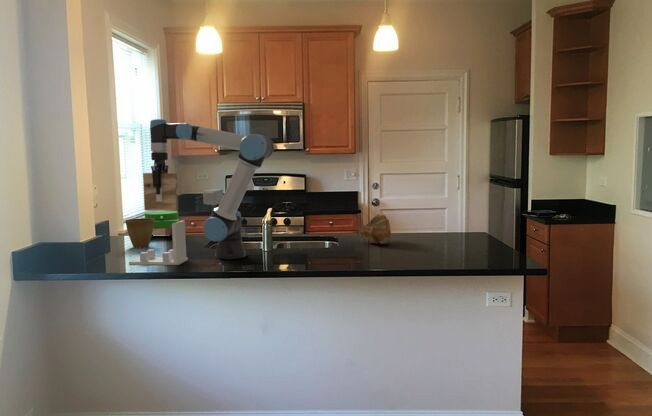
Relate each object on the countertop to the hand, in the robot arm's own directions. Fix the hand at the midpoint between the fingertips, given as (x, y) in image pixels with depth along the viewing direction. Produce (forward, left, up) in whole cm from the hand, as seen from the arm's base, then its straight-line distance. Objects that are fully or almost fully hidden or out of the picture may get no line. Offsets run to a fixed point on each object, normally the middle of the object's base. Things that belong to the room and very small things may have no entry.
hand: (161, 200), depth 257 cm
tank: (+56, -38, -29) cm, 74 cm away
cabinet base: (-3, +5, -29) cm, 29 cm away
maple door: (0, 0, -5) cm, 5 cm away
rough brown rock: (-60, -98, -29) cm, 118 cm away
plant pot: (+39, -14, -29) cm, 50 cm away
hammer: (+25, -55, -29) cm, 67 cm away
